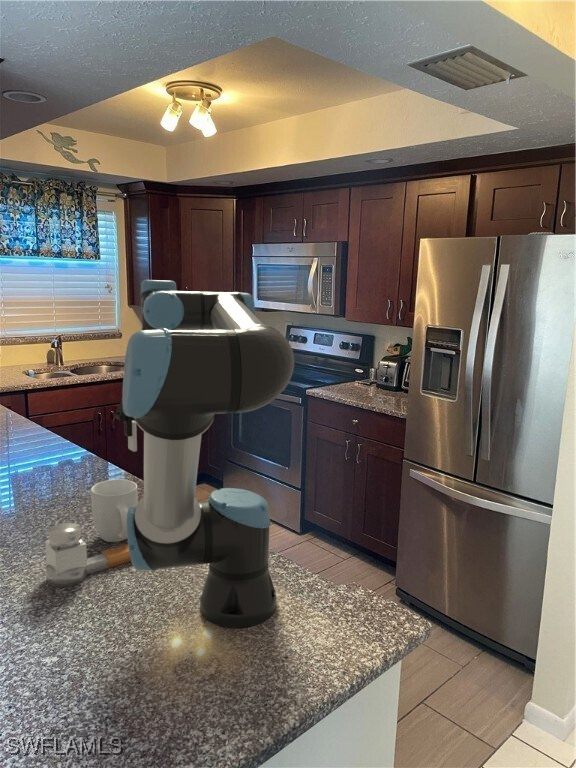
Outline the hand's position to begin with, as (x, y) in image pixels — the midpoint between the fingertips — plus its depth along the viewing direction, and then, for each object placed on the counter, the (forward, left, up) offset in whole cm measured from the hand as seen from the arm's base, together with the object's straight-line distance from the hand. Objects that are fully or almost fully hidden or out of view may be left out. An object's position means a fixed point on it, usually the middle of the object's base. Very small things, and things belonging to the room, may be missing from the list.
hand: (160, 444), depth 126 cm
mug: (+14, +5, -27) cm, 31 cm away
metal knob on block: (+3, +21, -24) cm, 32 cm away
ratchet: (+3, +14, -27) cm, 30 cm away
